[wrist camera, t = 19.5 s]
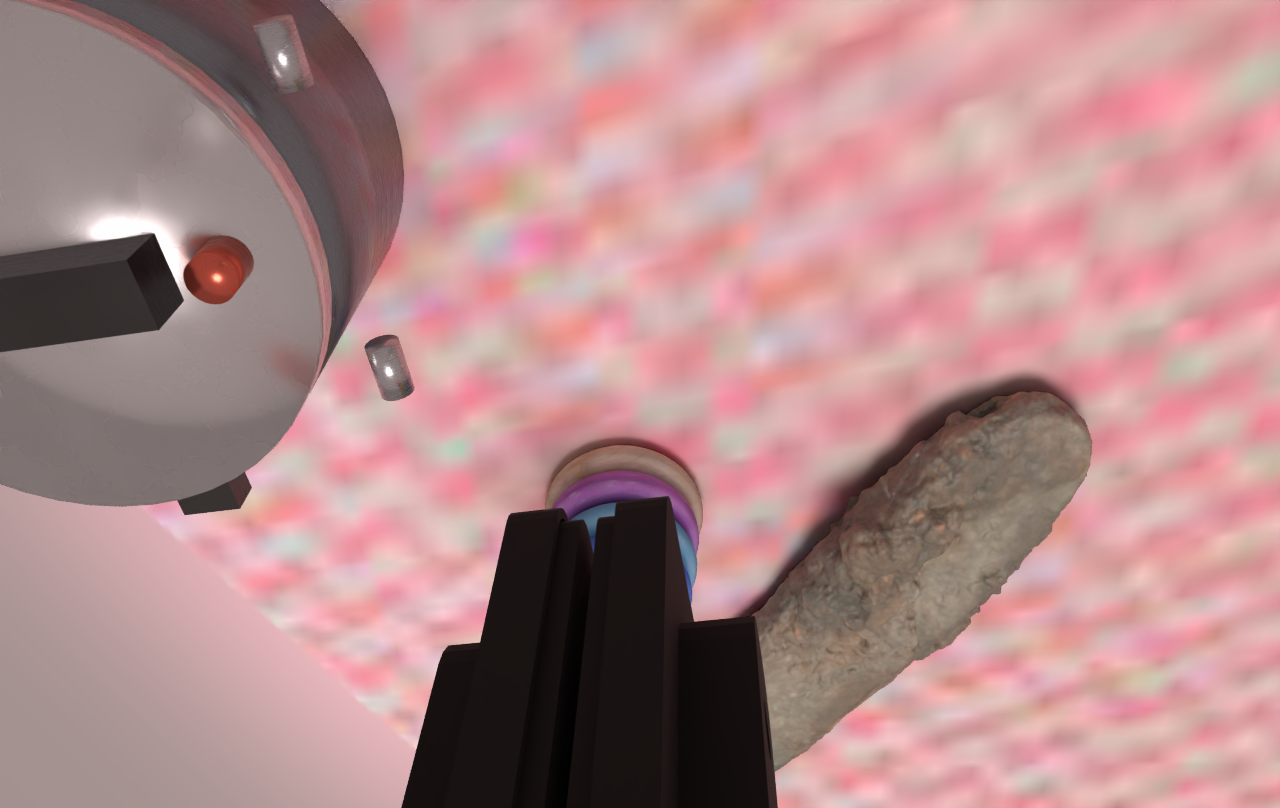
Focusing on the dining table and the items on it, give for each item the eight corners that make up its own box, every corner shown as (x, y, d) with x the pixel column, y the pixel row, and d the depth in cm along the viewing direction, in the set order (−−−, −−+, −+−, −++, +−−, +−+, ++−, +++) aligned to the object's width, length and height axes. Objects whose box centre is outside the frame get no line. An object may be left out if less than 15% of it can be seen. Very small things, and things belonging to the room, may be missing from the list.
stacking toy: (625, 584, 58) (604, 907, 42) (515, 498, 55) (448, 811, 39) (734, 504, 55) (756, 822, 39) (624, 409, 52) (599, 710, 36)
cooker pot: (-153, -111, 40) (-425, -57, 30) (337, -209, 38) (216, -185, 28) (113, 409, 53) (-19, 569, 43) (495, 359, 50) (449, 515, 40)
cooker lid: (-344, 38, 32) (-450, 70, 29) (215, -66, 30) (162, -43, 27) (-45, 504, 42) (-102, 566, 39) (396, 450, 40) (372, 510, 37)
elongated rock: (589, 733, 67) (722, 784, 70) (585, 810, 63) (726, 860, 66) (973, 336, 49) (1129, 427, 52) (1004, 405, 44) (1171, 501, 48)
